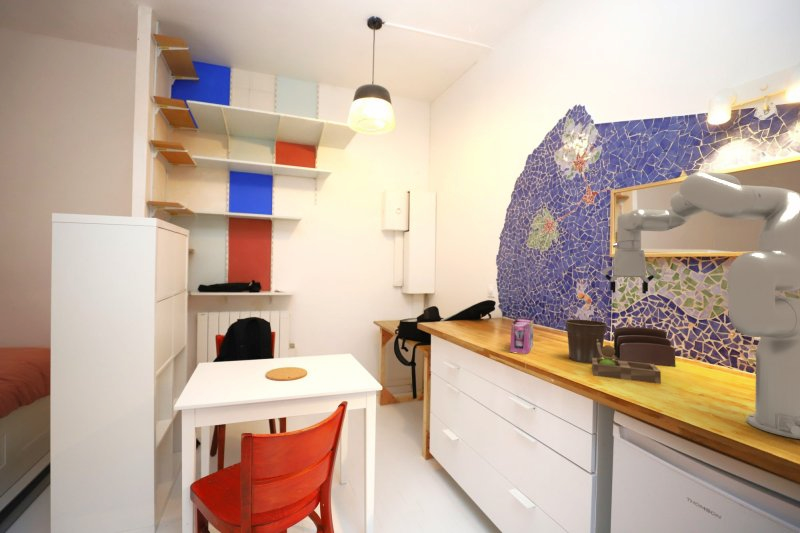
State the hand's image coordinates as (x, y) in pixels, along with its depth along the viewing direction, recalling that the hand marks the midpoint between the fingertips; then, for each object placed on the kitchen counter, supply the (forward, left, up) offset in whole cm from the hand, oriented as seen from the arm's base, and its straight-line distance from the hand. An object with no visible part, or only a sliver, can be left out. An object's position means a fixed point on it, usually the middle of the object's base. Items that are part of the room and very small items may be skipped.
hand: (628, 293), depth 137 cm
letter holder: (+25, -8, -30) cm, 40 cm away
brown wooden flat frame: (-3, +2, -30) cm, 30 cm away
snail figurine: (-3, +7, -30) cm, 31 cm away
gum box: (+25, +40, -30) cm, 56 cm away
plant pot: (+16, +14, -30) cm, 36 cm away
